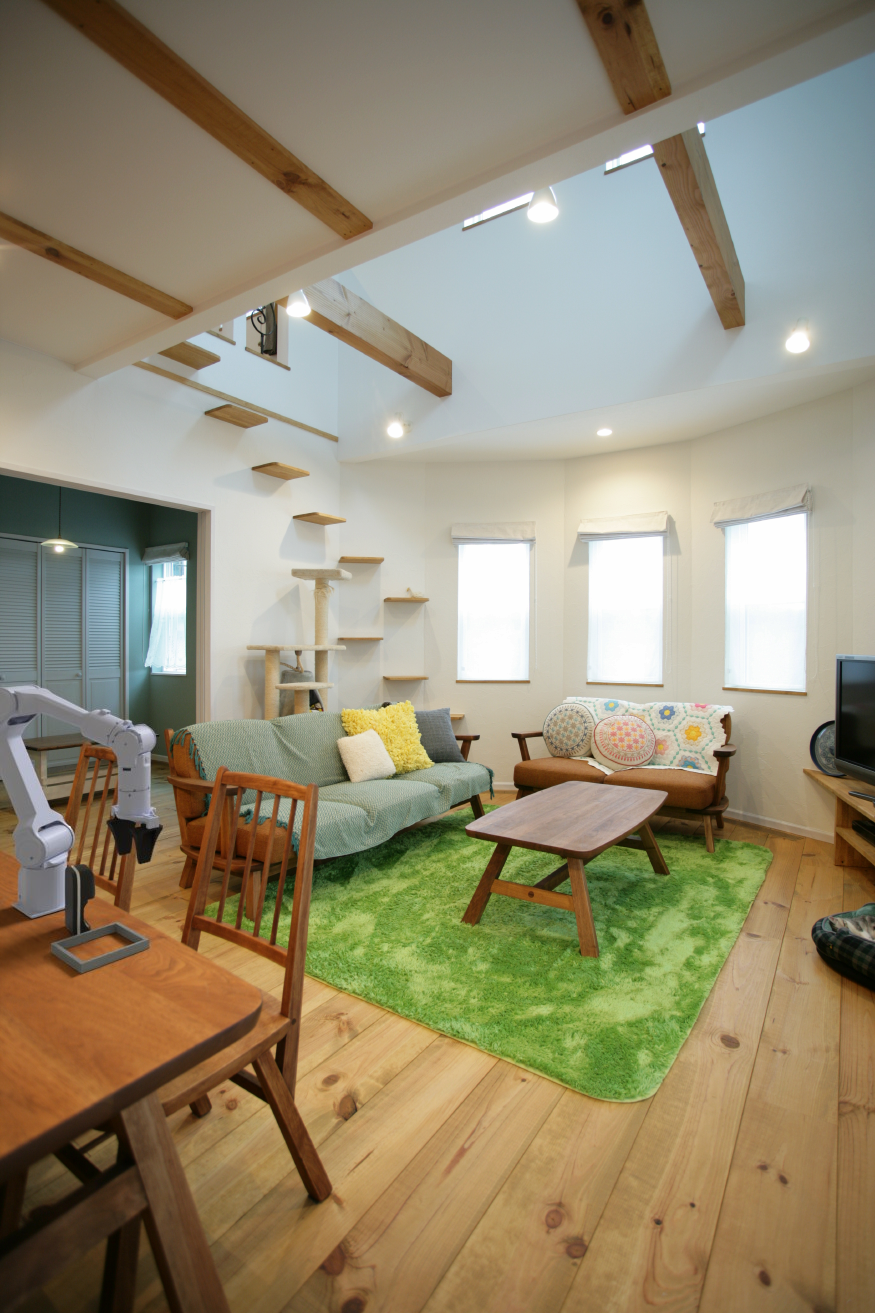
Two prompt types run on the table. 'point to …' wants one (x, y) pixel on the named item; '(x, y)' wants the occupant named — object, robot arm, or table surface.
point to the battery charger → (78, 897)
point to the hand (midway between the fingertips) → (134, 858)
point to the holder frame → (80, 966)
